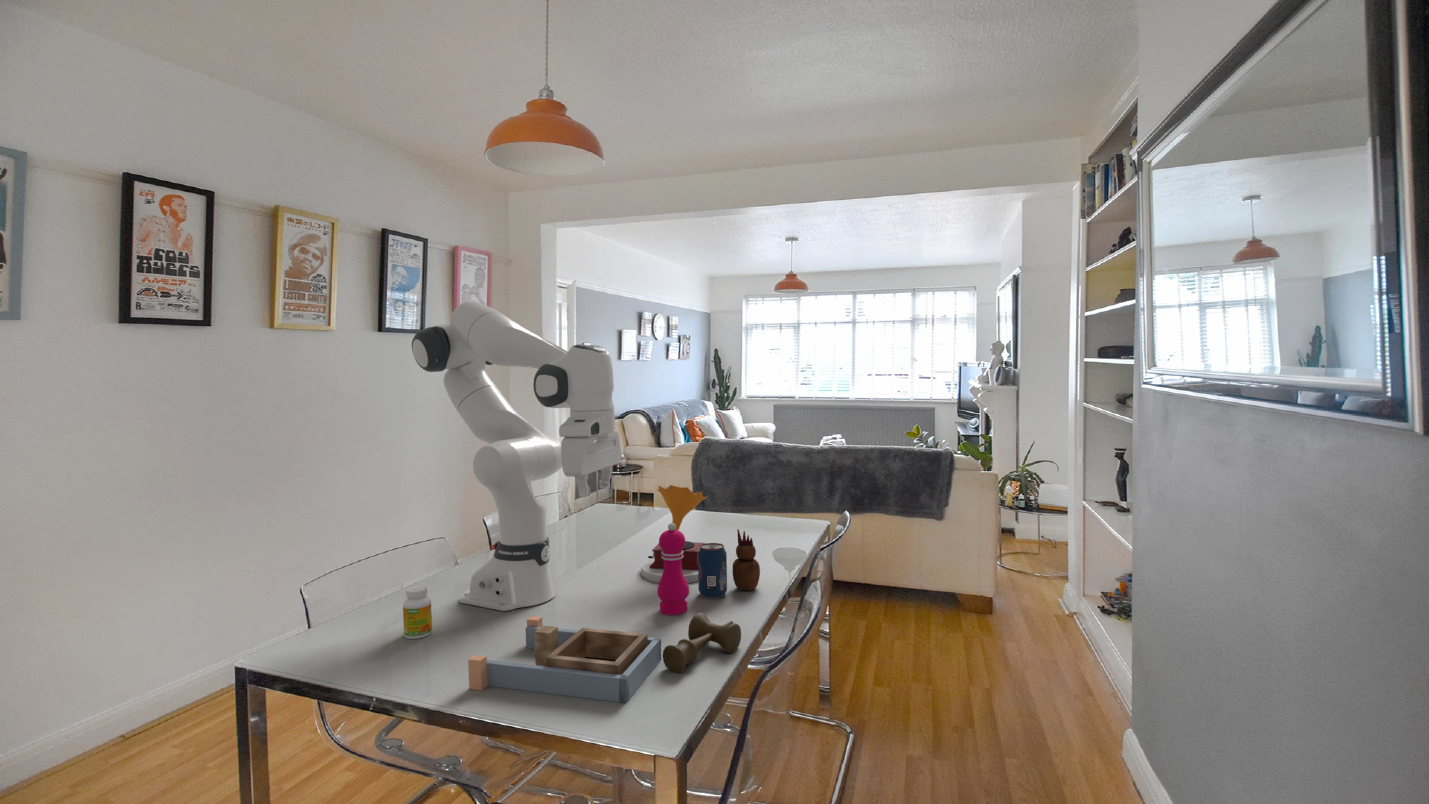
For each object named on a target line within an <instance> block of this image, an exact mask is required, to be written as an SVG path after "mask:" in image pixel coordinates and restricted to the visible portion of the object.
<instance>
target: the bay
mask: <svg viewBox="0 0 1429 804" xmlns="http://www.w3.org/2000/svg"><path fill="white" fill-rule="evenodd" d="M542 626H543V617H542V616H537V615H536V616H534V615H532V616H530V617H528V618H527V619H526V627H525V648H526V649H534V650H535V631H536V630H538V629H539V628H540V627H542ZM579 630H580V629H577V630H576V629H569V628H568V629H567V628H559V627H558V647H560V646H561V645H562V644H563V643H564V642H566V641H567V640H568V639H569V638H571V637H572V636H573V635H574V634H575V633H577V632H578V631H579ZM661 660H662V638H660V637H654V636H653V637H650V636H648V646H647V647H646V648H645V649H644V651H643V652H642V653H641V654H640V655H639V656H638V657H637V659H636V660H635V661H634V662H633V663H632V664H631V665H630V666H629V668H628V669H627V670H626V671H625V672H624V673H623V674H622V675H616V674H608V673H599V672H590V671H582V670H573V669H564V668H556V667H547V666H538V665H536V664H528V663H518V662H510V661H500V660H493V659H488V656H486V655H480V654H479V655H477V654H474V655H473V656H471V657H470V658H468V660H467V663H468V667H467V668H468V689H469V690H474V691H482V690H483V691H484V689H486V688H487V687H496V688H504V689H513V690H518V691H519V690H520V691H528V692H535V693H545V694H551V695H552V694H553V695H558V696H559V695H560V696H567V697H568V696H569V697H575V698H583V699H589V700H598V701H605V702H615V703H623V704H627V703H628V702H629V700H630V699H631V698H632V697H633V696H634V694H635V693H636V691H637V690H638V689H639V688H640V686H641V685H643V683H644V682H645V680H646V679H647V678H648V677H649V676H650V674H651V673H652V672H653V670H654V669H655V668H656V666H658V664H659V663H660V662H661Z"/></svg>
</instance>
